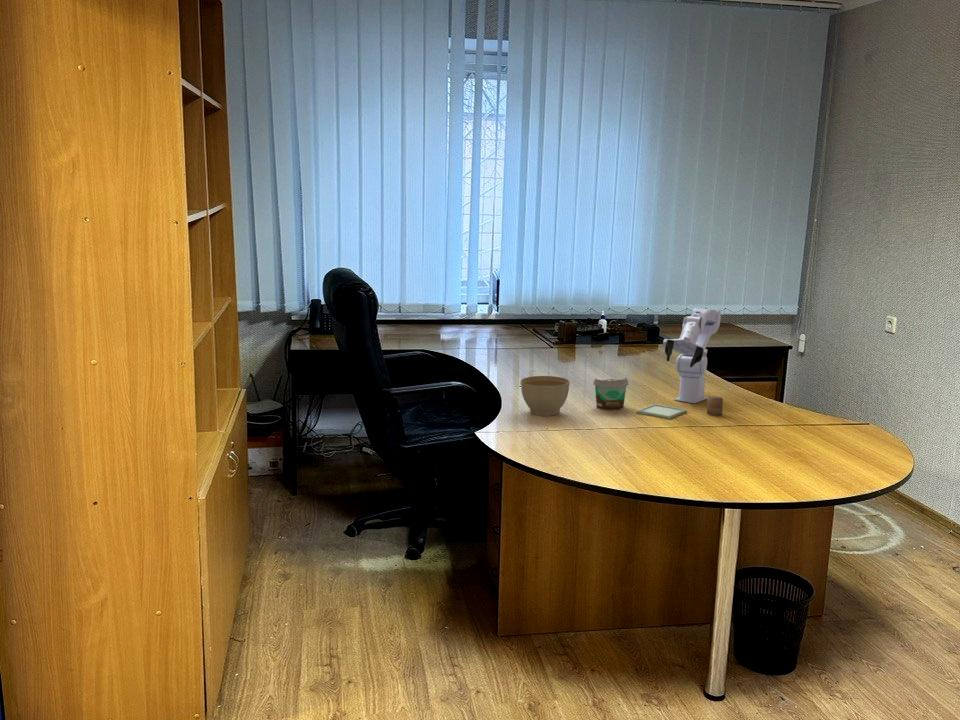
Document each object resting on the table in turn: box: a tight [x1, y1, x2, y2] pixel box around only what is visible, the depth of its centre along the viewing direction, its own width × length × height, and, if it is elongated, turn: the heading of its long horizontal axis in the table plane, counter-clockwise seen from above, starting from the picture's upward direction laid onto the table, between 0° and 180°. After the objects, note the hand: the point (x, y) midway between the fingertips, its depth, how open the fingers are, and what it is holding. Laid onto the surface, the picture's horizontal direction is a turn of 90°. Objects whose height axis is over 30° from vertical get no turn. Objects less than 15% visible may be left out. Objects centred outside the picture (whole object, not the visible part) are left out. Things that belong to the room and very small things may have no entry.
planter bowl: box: [520, 375, 571, 417], centre depth 290 cm, size 16×16×11 cm
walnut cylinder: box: [706, 395, 724, 417], centre depth 291 cm, size 5×5×6 cm
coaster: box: [636, 403, 688, 420], centre depth 293 cm, size 12×12×1 cm
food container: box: [592, 376, 629, 411], centre depth 297 cm, size 12×6×10 cm, turn 105°
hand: (679, 361), depth 288 cm, fingers open, 7 cm apart
